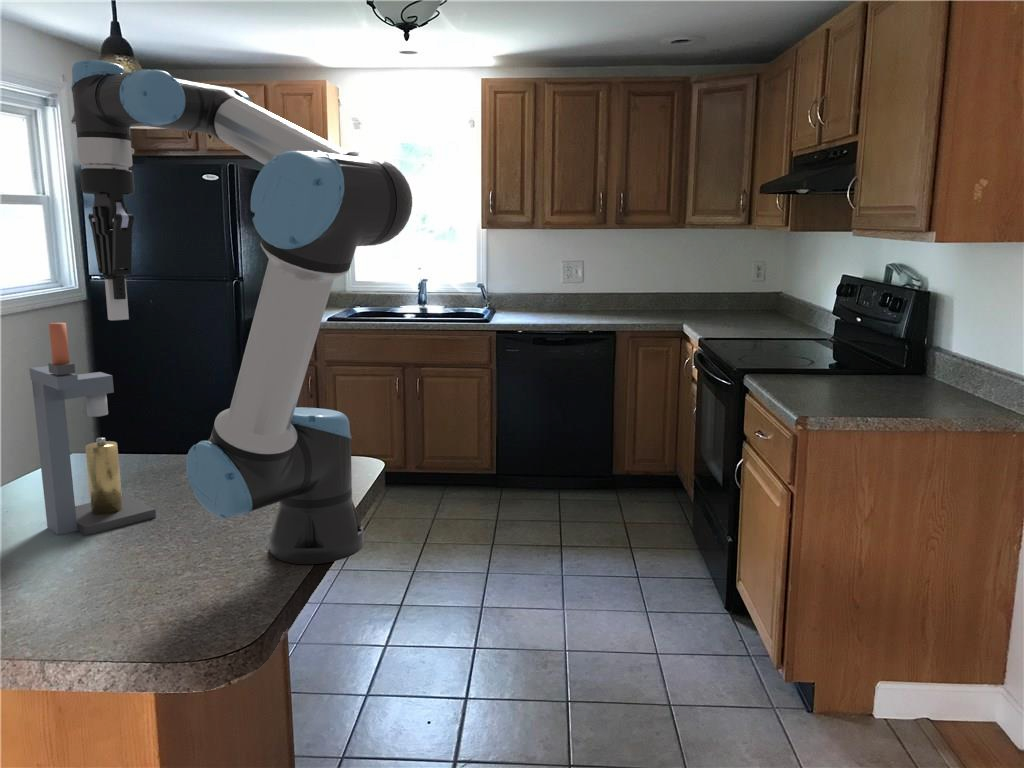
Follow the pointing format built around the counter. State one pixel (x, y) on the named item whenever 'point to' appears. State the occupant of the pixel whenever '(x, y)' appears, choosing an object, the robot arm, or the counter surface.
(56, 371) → the lever
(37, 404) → the press
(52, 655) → the counter surface
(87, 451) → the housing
